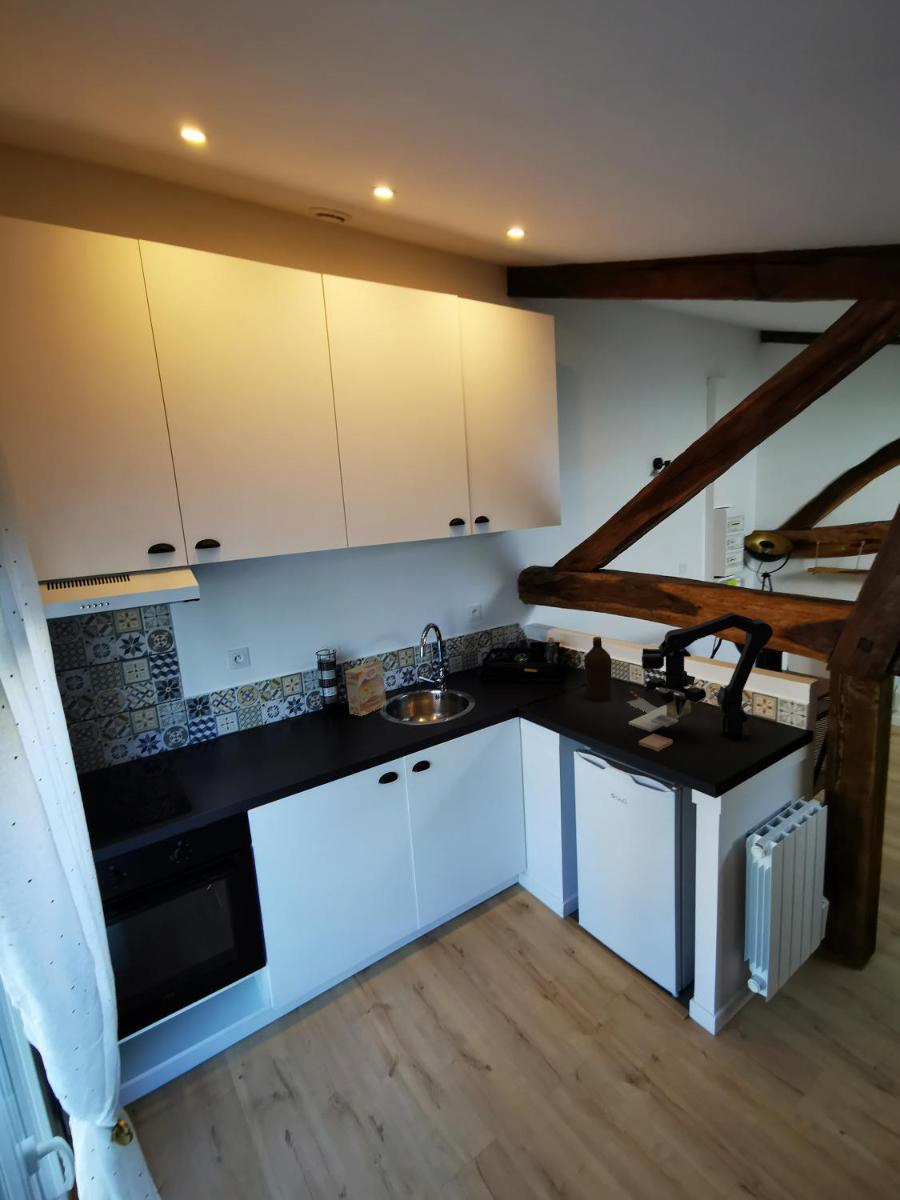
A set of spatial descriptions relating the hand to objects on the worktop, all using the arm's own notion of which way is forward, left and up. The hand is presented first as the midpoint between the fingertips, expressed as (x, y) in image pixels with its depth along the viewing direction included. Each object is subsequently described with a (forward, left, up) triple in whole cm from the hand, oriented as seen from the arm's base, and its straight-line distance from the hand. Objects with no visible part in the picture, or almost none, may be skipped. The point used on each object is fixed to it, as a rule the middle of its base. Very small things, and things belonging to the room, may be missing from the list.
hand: (675, 713), depth 187 cm
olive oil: (+40, -10, -7) cm, 42 cm away
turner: (0, 0, -1) cm, 1 cm away
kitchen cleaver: (+25, -15, -8) cm, 30 cm away
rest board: (+11, -7, -7) cm, 15 cm away
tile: (0, +7, -7) cm, 10 cm away
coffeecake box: (+98, +64, -7) cm, 118 cm away
